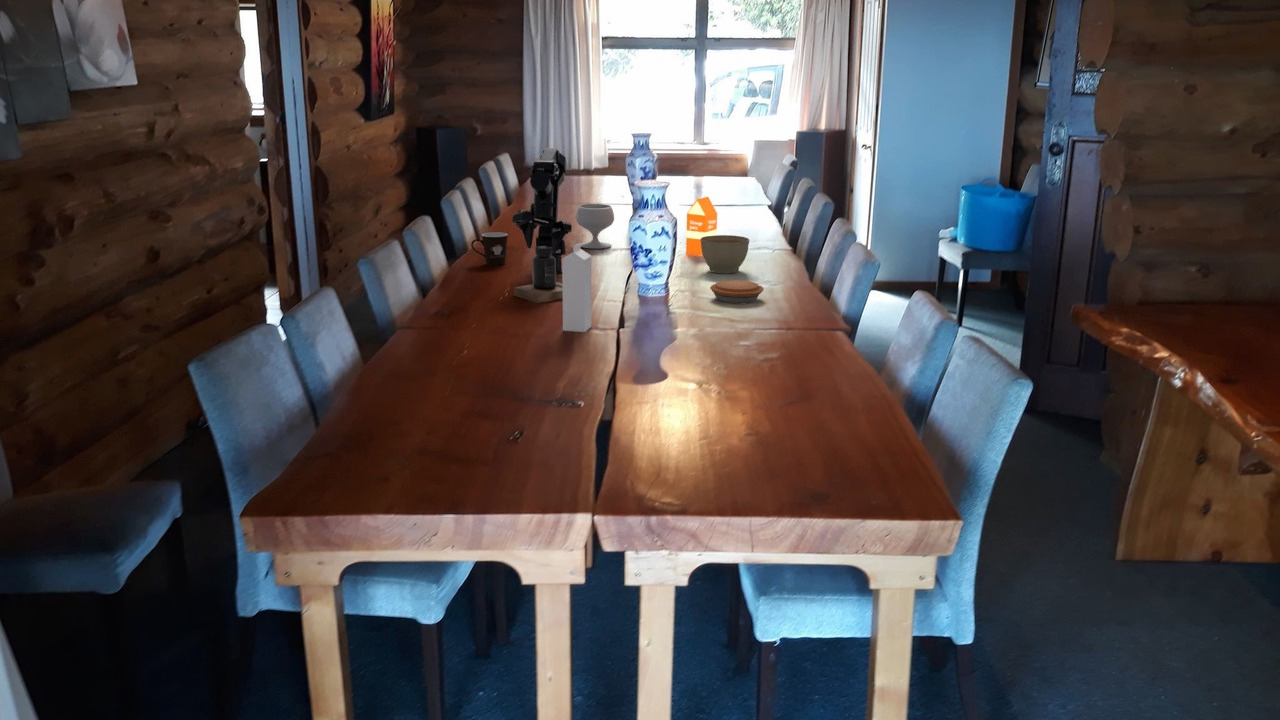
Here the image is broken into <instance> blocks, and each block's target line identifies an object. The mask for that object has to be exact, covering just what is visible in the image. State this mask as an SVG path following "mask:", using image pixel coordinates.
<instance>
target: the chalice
mask: <svg viewBox="0 0 1280 720" xmlns="http://www.w3.org/2000/svg"><path fill="white" fill-rule="evenodd" d="M614 213H615V212H614V210H613V208H612V205H609V204H605V203H604V204H603V203H602V204H601V203H589V204H588V203H587V204H585V203H584V204H580V205H579V206H578V208H577V211H576V217H575V220H576V223H578V225H579V226H580V227H581V228H584V229H585V230H587V231H588V232H590V234H591V235H592V239H591V241H588V242H586V241H585V242H582V243H580V245H581V248H583V249H591V250H592V249H595V250H596V249H597V250H599V249H600V250H601V249H607V248H610V247H612V244H611V243H607V242H604V241H603V242H602V241H600V240H599V239H598V237H599V235H600V233H601V232H603V231H604V230H606V229H607V228H609V227H610V226H612V224H614V221H615V214H614Z"/></svg>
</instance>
